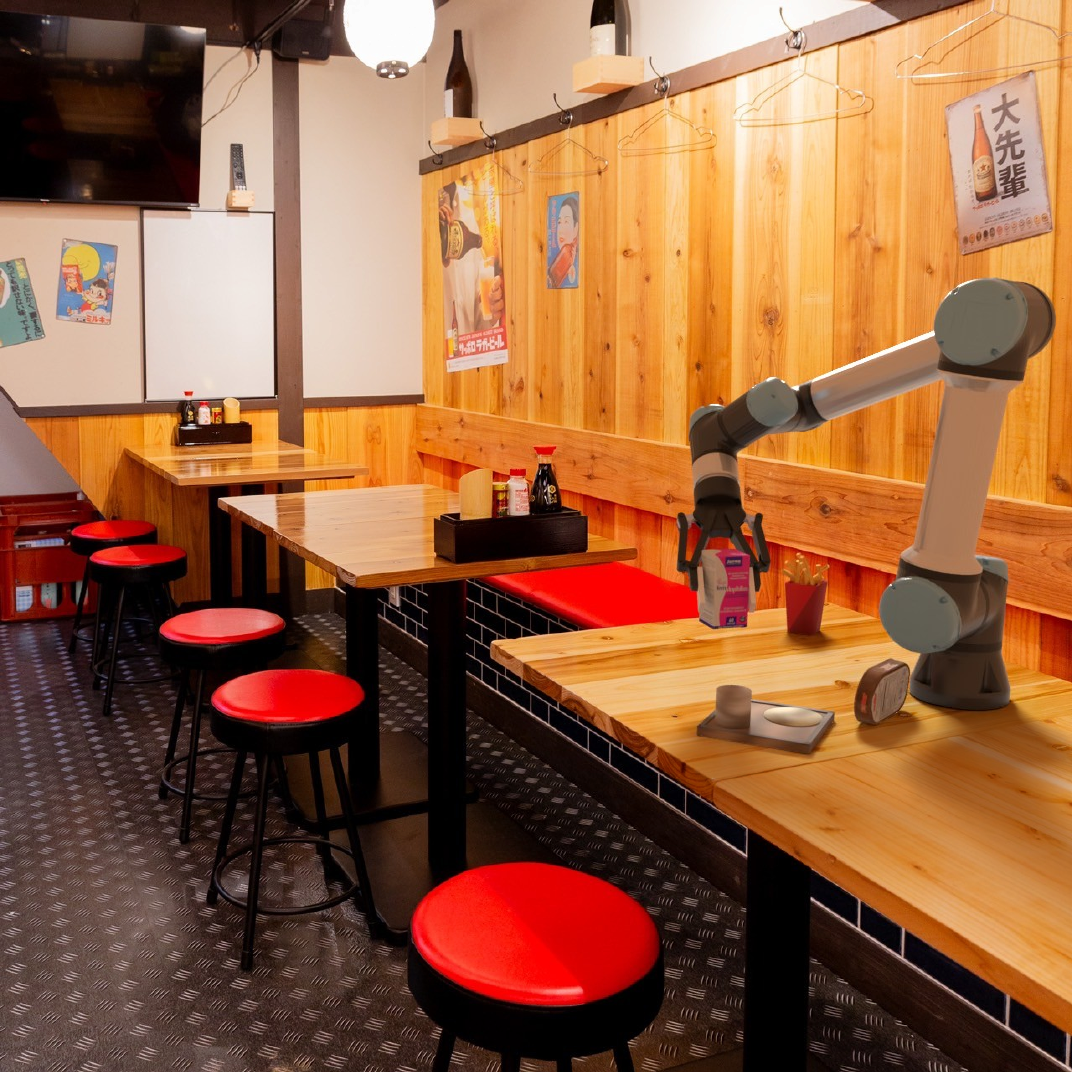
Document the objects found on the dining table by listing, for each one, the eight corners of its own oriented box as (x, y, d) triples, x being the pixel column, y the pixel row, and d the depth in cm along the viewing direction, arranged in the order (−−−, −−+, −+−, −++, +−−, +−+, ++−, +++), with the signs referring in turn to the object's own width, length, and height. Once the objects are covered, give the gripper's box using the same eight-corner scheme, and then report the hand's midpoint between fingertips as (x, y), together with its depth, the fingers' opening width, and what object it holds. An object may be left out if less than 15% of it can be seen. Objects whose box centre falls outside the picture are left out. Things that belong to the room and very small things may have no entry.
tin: (891, 704, 181) (895, 651, 180) (911, 708, 179) (915, 655, 178) (850, 728, 170) (853, 672, 168) (871, 733, 168) (874, 676, 166)
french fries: (826, 630, 227) (830, 554, 224) (812, 639, 220) (816, 561, 217) (783, 623, 231) (786, 549, 229) (767, 632, 224) (771, 556, 222)
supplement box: (713, 630, 176) (715, 556, 174) (698, 621, 182) (699, 549, 180) (748, 627, 177) (750, 554, 175) (732, 619, 183) (734, 547, 181)
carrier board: (834, 720, 173) (836, 680, 172) (809, 754, 158) (811, 710, 157) (729, 704, 179) (731, 665, 178) (696, 735, 165) (698, 693, 164)
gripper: (774, 502, 192) (789, 621, 178) (653, 501, 192) (659, 620, 179) (781, 473, 185) (797, 594, 172) (656, 473, 186) (662, 593, 173)
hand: (727, 607), depth 175 cm, fingers closed on supplement box, 7 cm apart
